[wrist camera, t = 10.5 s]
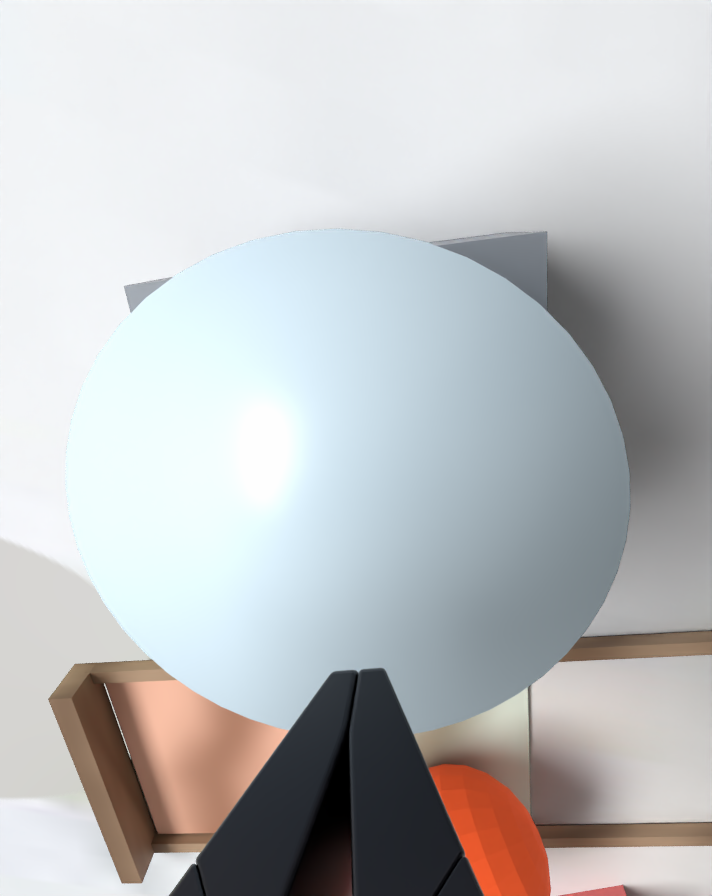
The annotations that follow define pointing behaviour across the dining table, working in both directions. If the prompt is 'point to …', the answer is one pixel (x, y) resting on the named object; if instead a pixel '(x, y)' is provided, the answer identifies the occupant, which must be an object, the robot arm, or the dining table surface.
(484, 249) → the gray square block
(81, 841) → the dining table surface
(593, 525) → the pop dome
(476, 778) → the clementine
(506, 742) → the wooden tray
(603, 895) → the die
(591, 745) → the dining table surface
